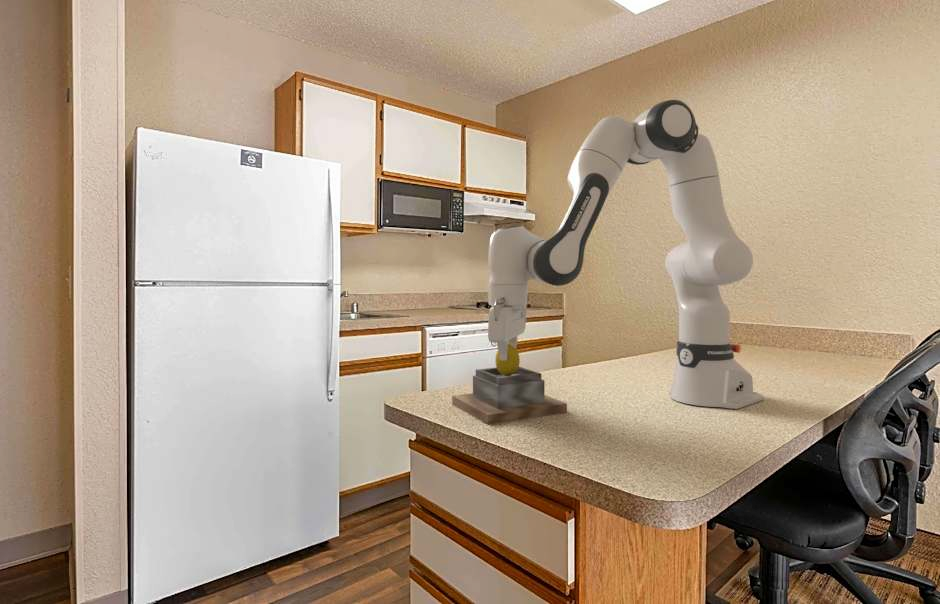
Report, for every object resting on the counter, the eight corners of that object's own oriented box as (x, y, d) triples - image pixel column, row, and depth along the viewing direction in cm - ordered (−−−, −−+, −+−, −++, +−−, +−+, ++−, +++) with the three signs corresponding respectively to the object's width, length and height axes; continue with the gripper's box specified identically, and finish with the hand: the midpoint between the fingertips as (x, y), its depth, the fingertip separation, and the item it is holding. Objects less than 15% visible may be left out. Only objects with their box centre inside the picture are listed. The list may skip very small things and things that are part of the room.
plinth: (523, 394, 127) (523, 361, 126) (566, 412, 111) (567, 374, 110) (452, 404, 118) (452, 368, 118) (487, 424, 102) (487, 383, 101)
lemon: (512, 381, 110) (512, 345, 110) (490, 378, 113) (490, 343, 113) (523, 377, 115) (523, 342, 114) (502, 374, 118) (502, 341, 117)
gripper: (509, 299, 102) (509, 366, 103) (530, 295, 121) (530, 351, 122) (480, 299, 104) (480, 364, 105) (505, 295, 123) (505, 350, 124)
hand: (507, 357), depth 114 cm, fingers closed on lemon, 5 cm apart
